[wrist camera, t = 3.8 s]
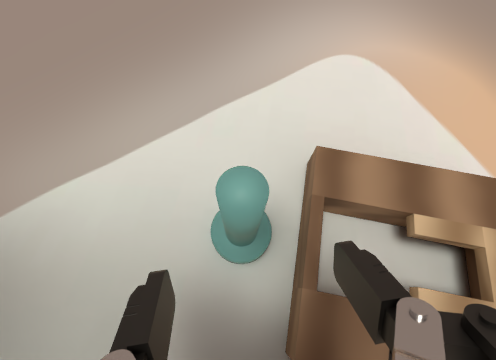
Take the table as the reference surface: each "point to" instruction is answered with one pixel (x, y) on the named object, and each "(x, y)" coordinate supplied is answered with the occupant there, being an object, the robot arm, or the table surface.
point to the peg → (241, 215)
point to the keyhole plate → (391, 212)
